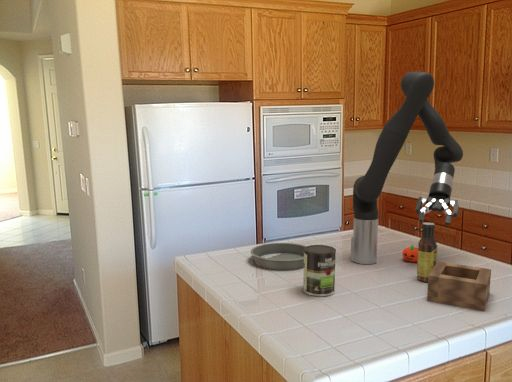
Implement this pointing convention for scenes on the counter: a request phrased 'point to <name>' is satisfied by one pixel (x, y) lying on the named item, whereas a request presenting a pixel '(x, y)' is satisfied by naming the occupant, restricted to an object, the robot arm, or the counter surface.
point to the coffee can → (319, 270)
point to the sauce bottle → (426, 252)
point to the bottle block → (459, 285)
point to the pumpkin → (410, 254)
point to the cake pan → (279, 256)
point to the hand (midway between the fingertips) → (433, 223)
